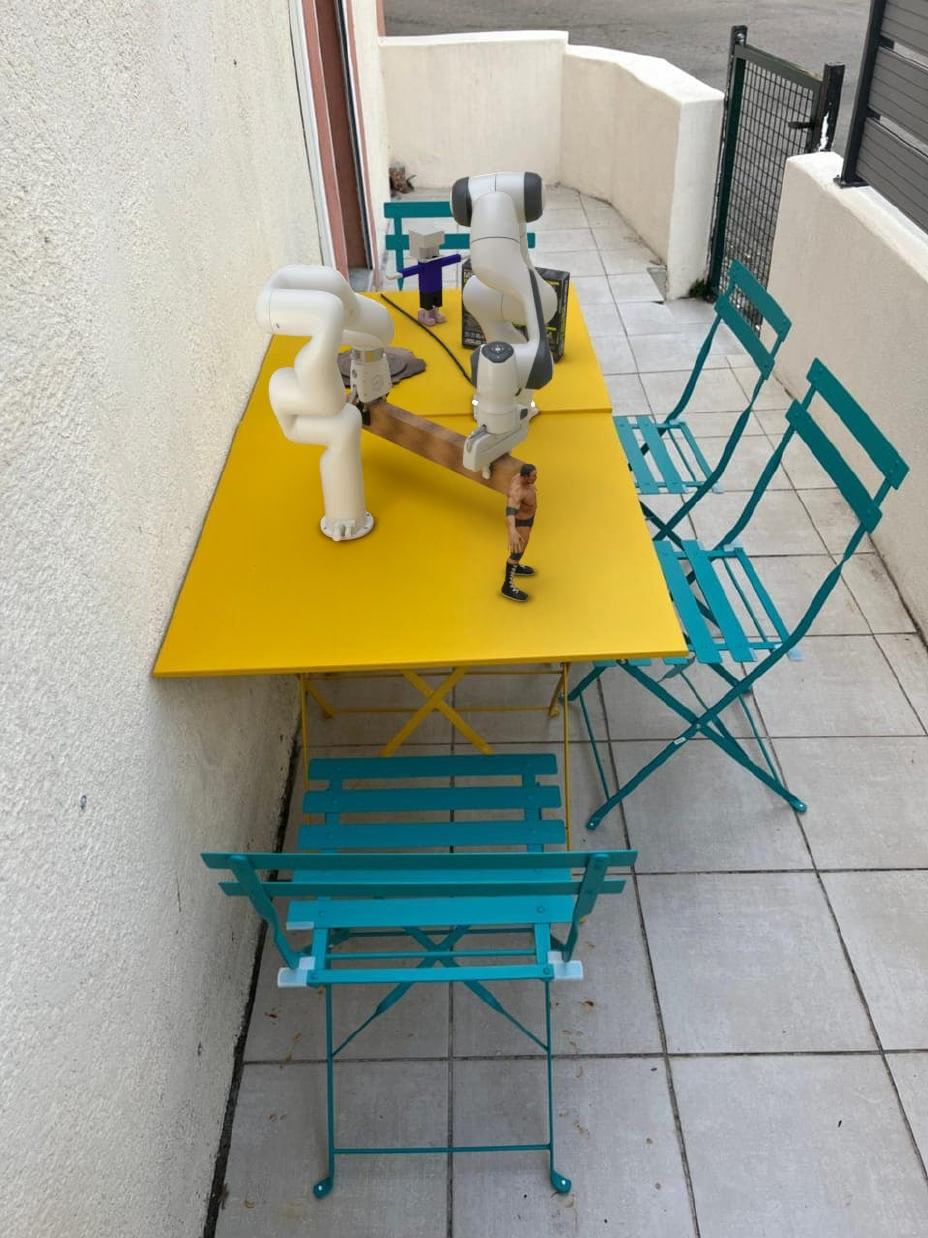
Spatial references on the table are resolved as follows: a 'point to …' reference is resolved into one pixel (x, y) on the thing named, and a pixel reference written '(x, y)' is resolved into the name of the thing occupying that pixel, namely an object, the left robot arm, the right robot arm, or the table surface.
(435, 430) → the post
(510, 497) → the figurine
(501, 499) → the table surface
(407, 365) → the sculpture
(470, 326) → the box
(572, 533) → the table surface
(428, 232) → the toy
